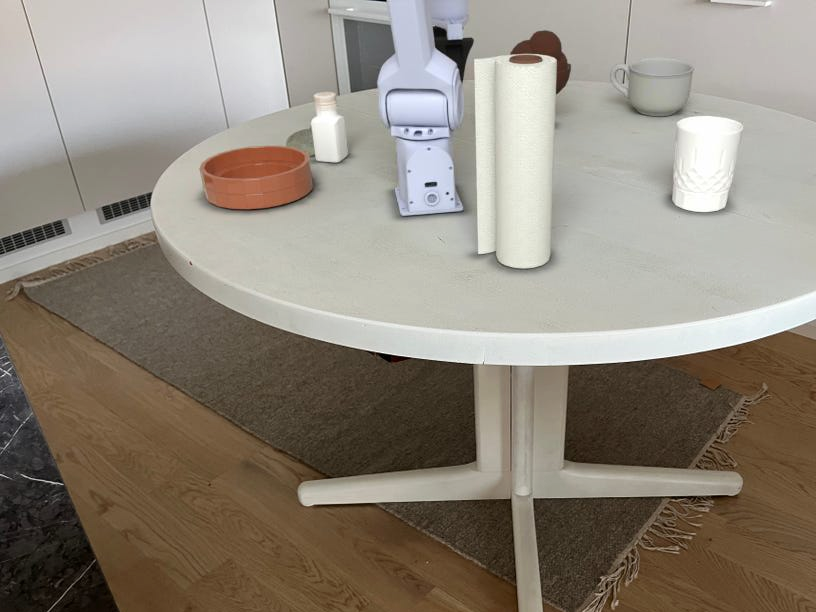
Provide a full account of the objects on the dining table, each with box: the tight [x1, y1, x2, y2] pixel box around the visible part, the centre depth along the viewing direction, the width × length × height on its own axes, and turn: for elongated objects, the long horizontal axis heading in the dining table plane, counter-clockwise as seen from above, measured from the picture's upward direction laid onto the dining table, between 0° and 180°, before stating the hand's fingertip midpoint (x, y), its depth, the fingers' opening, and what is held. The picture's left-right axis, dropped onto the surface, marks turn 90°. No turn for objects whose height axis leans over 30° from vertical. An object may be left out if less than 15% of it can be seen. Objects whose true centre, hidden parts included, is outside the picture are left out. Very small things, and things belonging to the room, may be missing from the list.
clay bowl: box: [198, 145, 314, 210], centre depth 107 cm, size 14×14×4 cm
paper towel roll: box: [473, 54, 557, 269], centre depth 83 cm, size 7×6×21 cm
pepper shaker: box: [310, 91, 349, 164], centre depth 117 cm, size 4×4×10 cm
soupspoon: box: [285, 126, 315, 157], centre depth 129 cm, size 22×3×7 cm
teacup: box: [609, 57, 695, 117], centre depth 136 cm, size 14×11×8 cm
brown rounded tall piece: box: [509, 29, 572, 95], centre depth 128 cm, size 11×11×15 cm
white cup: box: [671, 115, 744, 213], centre depth 99 cm, size 8×8×10 cm
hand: (449, 83), depth 114 cm, fingers open, 7 cm apart
